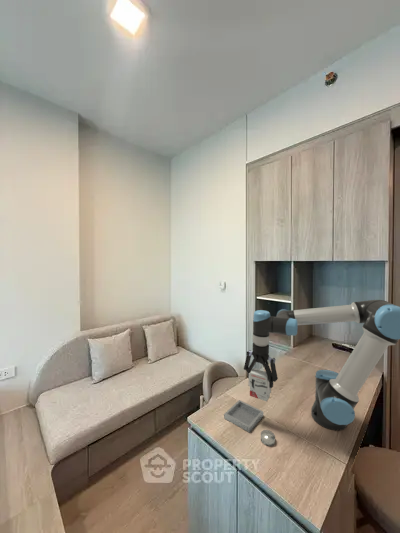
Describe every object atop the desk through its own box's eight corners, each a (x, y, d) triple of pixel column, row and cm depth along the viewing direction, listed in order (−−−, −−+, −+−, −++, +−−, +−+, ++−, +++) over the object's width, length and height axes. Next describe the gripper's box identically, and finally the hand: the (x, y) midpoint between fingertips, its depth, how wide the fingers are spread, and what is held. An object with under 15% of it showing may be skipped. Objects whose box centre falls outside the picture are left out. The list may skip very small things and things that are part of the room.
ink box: (249, 395, 108) (249, 371, 107) (252, 390, 112) (253, 367, 112) (267, 402, 103) (267, 377, 103) (269, 396, 107) (270, 372, 107)
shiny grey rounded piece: (276, 439, 98) (277, 434, 98) (272, 449, 93) (272, 443, 93) (263, 432, 101) (263, 427, 101) (258, 441, 97) (258, 436, 97)
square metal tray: (263, 416, 112) (263, 411, 112) (249, 432, 101) (249, 427, 101) (239, 404, 121) (239, 399, 121) (224, 418, 111) (224, 413, 111)
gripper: (286, 347, 102) (285, 395, 103) (244, 335, 116) (243, 377, 118) (280, 352, 96) (278, 403, 98) (236, 339, 111) (235, 383, 112)
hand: (259, 389), depth 108 cm, fingers closed on ink box, 9 cm apart
